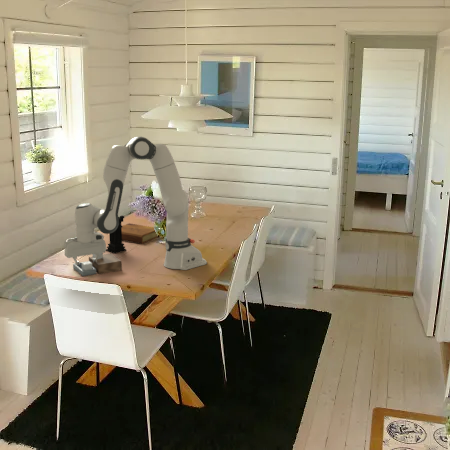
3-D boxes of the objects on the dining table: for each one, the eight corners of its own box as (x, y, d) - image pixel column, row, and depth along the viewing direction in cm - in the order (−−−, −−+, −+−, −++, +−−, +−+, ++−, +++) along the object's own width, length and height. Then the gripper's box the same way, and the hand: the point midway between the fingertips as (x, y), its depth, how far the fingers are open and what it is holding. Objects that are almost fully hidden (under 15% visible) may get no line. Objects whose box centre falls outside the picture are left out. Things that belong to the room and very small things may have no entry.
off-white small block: (89, 270, 295) (89, 261, 293) (92, 272, 291) (92, 263, 290) (82, 271, 293) (81, 262, 291) (84, 274, 289) (84, 264, 288)
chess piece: (126, 250, 328) (125, 215, 323) (114, 253, 323) (113, 218, 317) (117, 247, 334) (116, 213, 328) (106, 250, 328) (104, 215, 323)
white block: (100, 256, 302) (99, 246, 301) (102, 258, 299) (102, 248, 298) (92, 257, 300) (92, 248, 299) (95, 259, 297) (94, 250, 296)
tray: (86, 266, 302) (86, 261, 302) (96, 274, 291) (96, 269, 290) (73, 268, 299) (73, 263, 298) (82, 276, 287) (82, 271, 287)
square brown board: (111, 262, 308) (110, 253, 307) (121, 270, 297) (121, 260, 296) (89, 266, 302) (88, 257, 301) (99, 274, 291) (98, 264, 289)
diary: (110, 239, 351) (110, 230, 350) (129, 232, 367) (129, 223, 366) (142, 244, 341) (141, 235, 340) (160, 237, 357) (159, 227, 355)
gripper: (66, 241, 279) (67, 268, 282) (106, 235, 290) (107, 262, 293) (61, 237, 284) (63, 265, 288) (102, 232, 295) (103, 258, 298)
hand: (86, 263), depth 290 cm, fingers open, 7 cm apart
